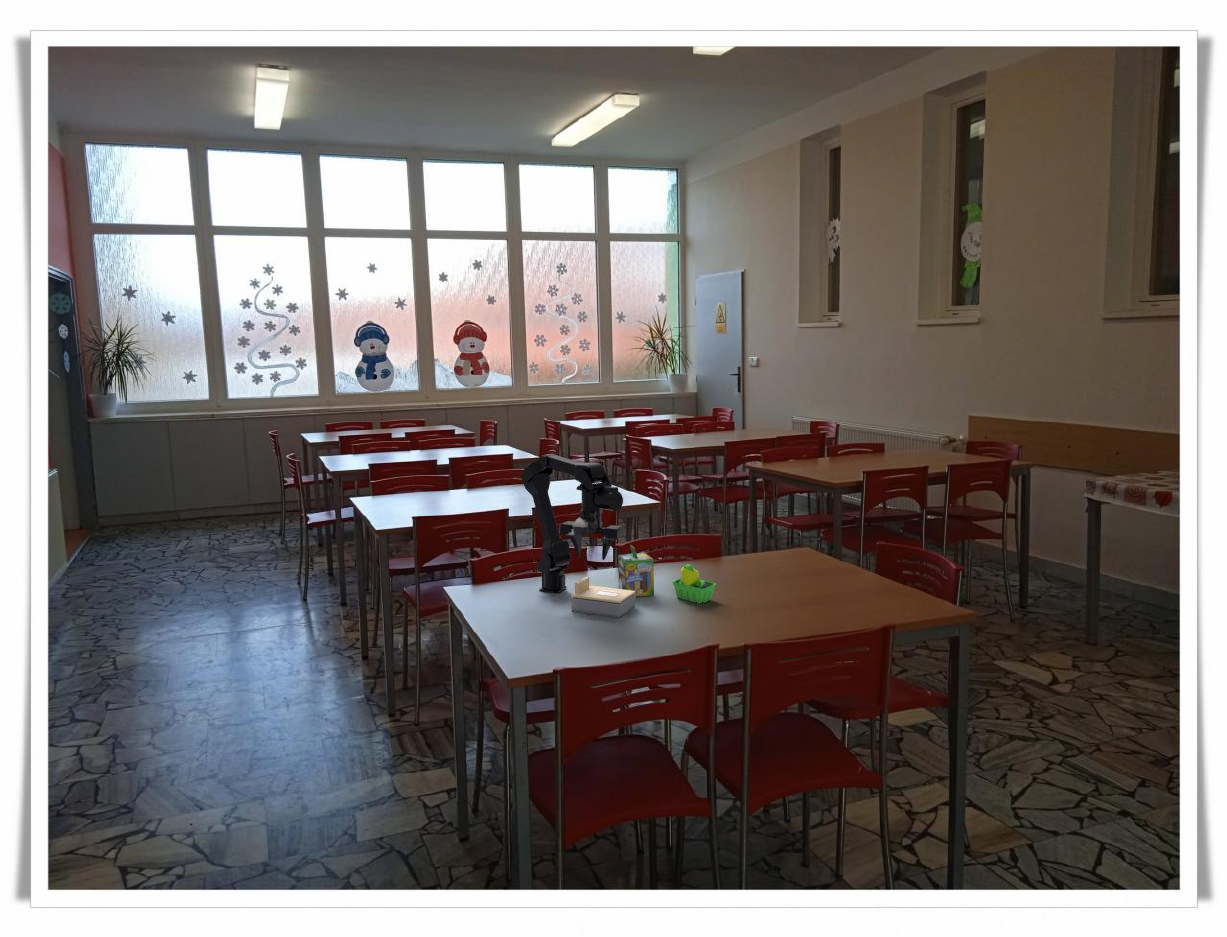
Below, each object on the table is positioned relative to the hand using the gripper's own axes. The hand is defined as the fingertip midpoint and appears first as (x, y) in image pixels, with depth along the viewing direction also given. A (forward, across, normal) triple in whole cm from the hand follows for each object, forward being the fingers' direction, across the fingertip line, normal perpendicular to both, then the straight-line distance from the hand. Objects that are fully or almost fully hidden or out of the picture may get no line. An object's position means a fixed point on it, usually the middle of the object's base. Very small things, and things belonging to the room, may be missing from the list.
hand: (591, 558), depth 250 cm
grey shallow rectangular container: (+13, +7, -6) cm, 16 cm away
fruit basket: (+13, +27, +13) cm, 33 cm away
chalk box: (+13, +9, +13) cm, 20 cm away
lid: (+8, +7, -6) cm, 13 cm away
